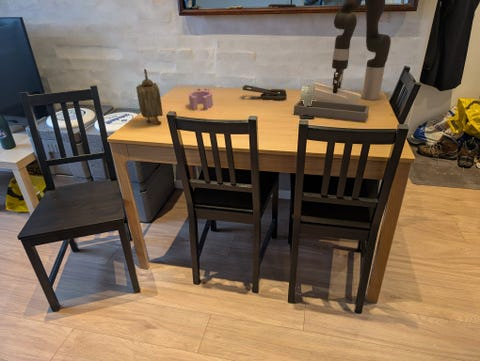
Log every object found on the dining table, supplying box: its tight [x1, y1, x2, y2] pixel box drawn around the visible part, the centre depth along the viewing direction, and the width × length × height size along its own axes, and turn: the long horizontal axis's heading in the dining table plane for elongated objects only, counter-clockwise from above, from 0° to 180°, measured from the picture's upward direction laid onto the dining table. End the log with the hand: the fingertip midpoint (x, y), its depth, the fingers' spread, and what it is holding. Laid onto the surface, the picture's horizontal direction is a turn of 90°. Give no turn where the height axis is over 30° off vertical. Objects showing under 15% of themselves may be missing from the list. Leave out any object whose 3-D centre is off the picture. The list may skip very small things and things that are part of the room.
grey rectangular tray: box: [293, 98, 370, 124], centre depth 171 cm, size 12×34×4 cm, turn 66°
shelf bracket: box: [311, 82, 362, 105], centre depth 181 cm, size 6×25×13 cm, turn 71°
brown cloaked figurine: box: [135, 68, 164, 125], centre depth 164 cm, size 14×9×25 cm, turn 21°
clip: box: [188, 87, 214, 111], centre depth 191 cm, size 20×12×7 cm, turn 0°
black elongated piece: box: [242, 84, 287, 102], centre depth 199 cm, size 9×7×25 cm
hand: (336, 91), depth 178 cm, fingers open, 8 cm apart
